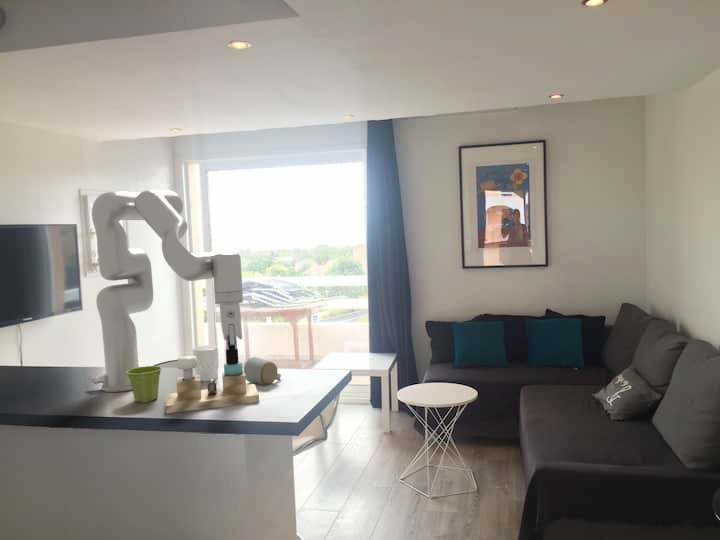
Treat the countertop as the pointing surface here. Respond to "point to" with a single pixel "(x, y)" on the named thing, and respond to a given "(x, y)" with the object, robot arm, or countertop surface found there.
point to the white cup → (206, 362)
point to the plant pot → (145, 382)
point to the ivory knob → (187, 366)
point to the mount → (196, 398)
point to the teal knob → (233, 369)
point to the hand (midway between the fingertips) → (232, 363)
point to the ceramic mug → (260, 371)
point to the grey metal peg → (212, 387)
